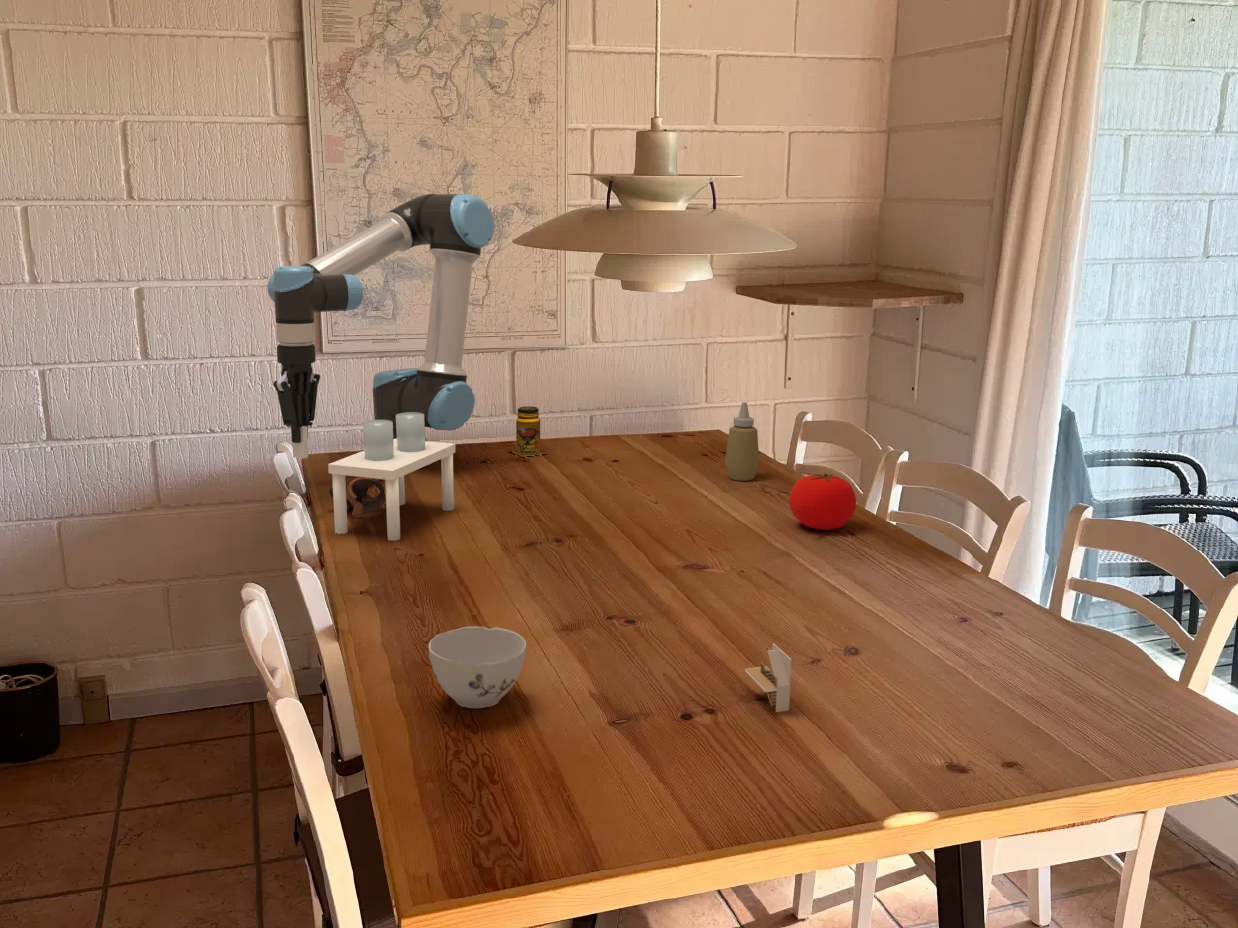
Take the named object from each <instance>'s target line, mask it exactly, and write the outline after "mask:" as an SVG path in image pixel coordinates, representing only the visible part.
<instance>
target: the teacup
mask: <svg viewBox="0 0 1238 928" xmlns="http://www.w3.org/2000/svg"><path fill="white" fill-rule="evenodd" d="M526 651H527V641H526V640H525V638H523V636H521V635H520V634H519V633H518V632H515V631H512V630H509V629H505V628H500V627H493V628H488V627H486V626H464V627H460V628H456V629H451V630H449V631H448V630H447V631H445V632H442V633H437V634H436V635H435V636H434V637H433V638H431V639H430V641H429V643H428V655H429V661H430V662H429V663H430V665H431V668H432V672H433V674H434V677H435V679H436V680H437V682H438V684H439V685H440V688H442V689H443V691H444V692H445V693H446V694H447V695H448V696H449V697H450V698H451V699H453V700H454V701H455V703H456V704H457V705H458V706H460V707H463V708H468V709H477V710H478V709H484V708H489V707H490V708H491V707H493V706H495V705H497V704H499V702H500V701H501V699H502V698H503V697H505V696H506V695H507V694H508V693H509V691H511V689H512V687H513V686H514V684H516V681H518V678H519V676H520V674H521V671H522V668H523V666H524V660H525V657H526Z"/></svg>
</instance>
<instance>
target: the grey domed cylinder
mask: <svg viewBox="0 0 1238 928" xmlns="http://www.w3.org/2000/svg"><path fill="white" fill-rule="evenodd" d="M425 428H426V427H425V425H424V414H423V413H419V412H405V413H399V414H396V432H397V450H398V451H402V452H416V451H422V450H424V449H425V437H426V433H425V431H426V430H425Z"/></svg>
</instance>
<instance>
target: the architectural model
mask: <svg viewBox="0 0 1238 928" xmlns="http://www.w3.org/2000/svg"><path fill="white" fill-rule="evenodd" d="M766 651H767V654H768V659H769V662H770V668H769V667H768V666H767V665H764V661H763V660H761V662H760V666H754V667H745V668H744V672H745V673H746V674H748V676H749V677H750V678H751V679H752V680H753V681H754V682H755V684H757V685H758V686H759V688H761V689H762V690H763V692H765V693H766V694H767V697H768V700H769V703H770V706H771V707H773V706H775V713H780V712H788V711H789V710H790V699H791V698H790V697H791V680H792V679H791V677H792V663H793V660H792V658H791V657H789V655H788V654H786V653H785V651H783V650H782V649H781V648H780V647H779V646H777V644H776V643H773V642H772V646H771V650H770V649H769V648H768V647H767V648H766Z"/></svg>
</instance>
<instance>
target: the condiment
mask: <svg viewBox="0 0 1238 928" xmlns="http://www.w3.org/2000/svg"><path fill="white" fill-rule="evenodd" d="M539 412H540V411H539V407H537V406H527V405H526V406H521V407H518V408H517V418H516V420H515V423H516V425H515V429H516V433H515V434H516V437H515V438H516V442H515V443H516V450H517V454H519V455H524V456H532V455H538V454H540V451H542V450H541V447H542V446H541V419H540V418H539V416H540V414H539Z"/></svg>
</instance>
